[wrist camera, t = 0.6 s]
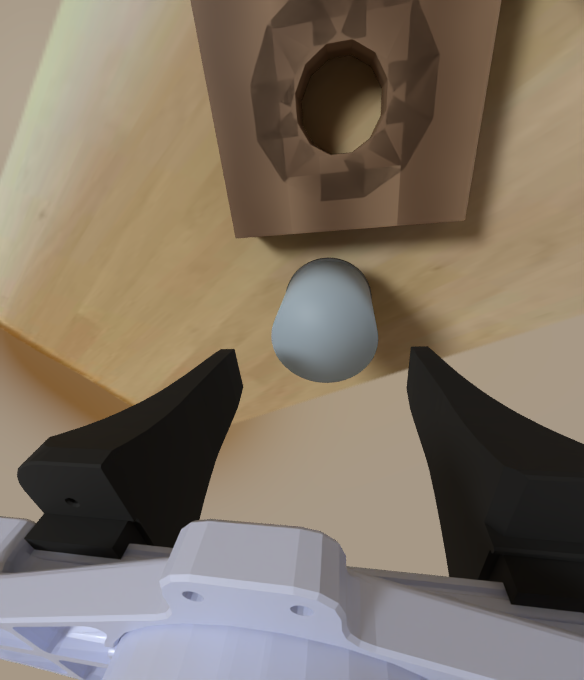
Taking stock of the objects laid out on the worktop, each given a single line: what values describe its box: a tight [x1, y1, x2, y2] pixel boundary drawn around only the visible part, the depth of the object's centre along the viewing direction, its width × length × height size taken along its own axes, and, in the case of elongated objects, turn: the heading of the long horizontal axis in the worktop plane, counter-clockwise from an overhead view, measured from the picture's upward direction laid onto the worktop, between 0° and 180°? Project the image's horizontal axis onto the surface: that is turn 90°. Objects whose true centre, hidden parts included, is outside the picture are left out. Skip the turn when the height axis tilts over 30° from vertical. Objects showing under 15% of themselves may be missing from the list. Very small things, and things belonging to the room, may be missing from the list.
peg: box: [272, 258, 378, 383], centre depth 18 cm, size 5×5×7 cm
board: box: [191, 0, 502, 238], centre depth 15 cm, size 12×11×2 cm
